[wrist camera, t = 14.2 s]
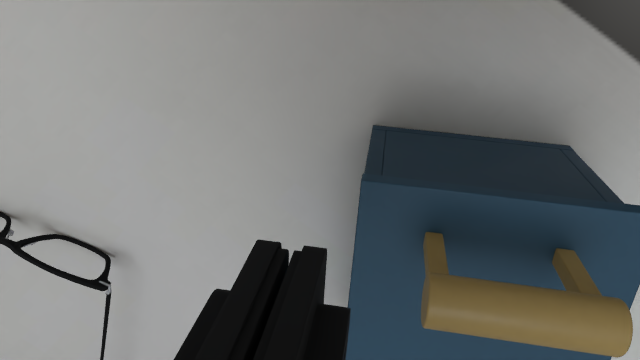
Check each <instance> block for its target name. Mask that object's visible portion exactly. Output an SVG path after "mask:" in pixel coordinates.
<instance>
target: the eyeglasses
mask: <svg viewBox="0 0 640 360" xmlns="http://www.w3.org/2000/svg"><path fill="white" fill-rule="evenodd" d="M0 217H2V218H4V219H5V220H6V222H7V224H6V226H5V228H4V229H3V230H2V231H1V232H0V244H3V245H5V246H7V247H8V248H10V249H11V250H12V251H13V252H14V253H15V254H17V255H18V256H20V257H22V258H23V259H25V260H27V261H28V262H30V263H32V264H34V265H36V266H38V267H40V268H42V269H44V270H46V271H48V272H50V273H52V274H55V275H57V276H59V277H62V278H65V279H67V280H70V281H72V282H75V283H78V284H81V285H84V286H87V287H90V288H93V289H97V290H100V291H105V290H108V291H106V293H105V294H107V296H106V306H105V317H104V327H103V338H102V348H101V358H100V360H103V358H104V350H105V341H106V333H107V324H108V316H109V308H110V299H111V282H109V281H108V274H109V270H110V263H111V259H110V257H109V256H108V255H107V254H105V253H103V252H102V251H100V250H98V249H96V248H94V247H92V246H90V245H88V244H86V243H84V242H81V241H79V240H76V239H73V238H70V237H67V236H63V235H58V234H49V235H42V236H37V237H32V238H28V239H24V240H20V241H17V242H15V241H12V240H9V239H8V238H9V236H12V235H13V233H14V231H13V230H10V226H11V218H10V217H9V216H7V215H5V214H3V213H1V212H0ZM7 234H8V237H7V238H6V236H7ZM50 239H62V240H66V241H69V242H72V243H75V244H77V245H80V246H82V247H84V248H87V249H89V250H91V251H93V252H95V253H97V254H98V255H100V256H101V257H103V258H104V259H105V260H106V266H105V270H104V271H103V273H102V274H101V276H100V277H98V278H97V279H95V280H88V279H84V278H81V277H78V276H75V275H72V274H69V273H67V272H64V271H61V270H59V269H56V268H54V267H52V266H49V265H47V264H45V263H43V262H41V261H39V260H38V259H36V258H34V257H32V256H31V255H29V254H27V253H26V252H24V251H23V250H21V248H22V247H26V246H28V245H30V244H31V245H33V244H35V243H36V242H38V241H42V240H50Z"/></svg>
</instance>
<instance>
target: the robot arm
mask: <svg viewBox="0 0 640 360" xmlns="http://www.w3.org/2000/svg"><path fill="white" fill-rule="evenodd" d="M326 260H327V249H326V248H318V247H311V246H304V247H303V249H302V251H294V253H293V255H292V258H291V260H290V263H289V251H288V250H287V249H281V243H280V242H273V241H265V240H257V241H256V243H255V245H254V247H253V249H252V251H251V253H250V254H249V256H248V258H247V260H246V262H245V264H244V266H243V268H242V270H241V272H240V274H239V275H238V277H237V279H236V281H235V283H234V285H233V287H232V289H231V291H229V290H222V289H216V290H214V292H213V293H212V294H211V296H210V298H209V299H208V301H207V303H206V305H205V306H204V308H203V310H202V312H201V313H200V315H199V317H198V318H197V320H196V322H195V324H194V325H193V327H192V329H191V331H190V332H189V334H188V336H187V338H186V339H185V341H184V343H183V345H182V346H181V348H180V350H179V351H178V353H177V355H176V357H175V358H174V360H346V352H347V343H348V334H349V324H350V314H351V308H346V307H339V306H333V305H326V304H324V289H325V275H326ZM288 265H289V266H288Z"/></svg>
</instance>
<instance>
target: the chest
mask: <svg viewBox="0 0 640 360" xmlns="http://www.w3.org/2000/svg"><path fill="white" fill-rule="evenodd" d="M364 173H365V174H373V175H382V176H390V177H399V178H407V179H416V180H425V181H433V182H442V183H450V184H459V185H467V186H476V187H485V188H493V189H502V190H510V191H519V192H527V193H536V194H545V195H553V196H562V197H570V198H579V199H587V200H596V201H605V202H613V203H622V204H624V203H623V202H622V201H621V200H620V199H619V198H618V196H617V195H616V194H615V193H614V192H613V191H612V190H611V189H610V188H609V187H608V186H607V185H606V184H605V183H604V182H603V181H602V180H601V179H600V178H599V177H598V176H597V174H596V173H595V172H594V171H593V170H592V169H591V168H590V167H589V166H588V165H587V164H586V163H585V162H584V161H583V160H582V159H581V158H580V157H579V156H578V155H577V154H576V152H575V151H574V150H573V149H572V148H571V147H570V146H566V145H557V144H547V143H538V142H528V141H519V140H509V139H500V138H490V137H481V136H471V135H462V134H452V133H443V132H433V131H424V130H414V129H405V128H395V127H386V126H376V125H373V128H372V134H371V139H370V145H369V150H368V156H367V161H366V166H365V172H364Z"/></svg>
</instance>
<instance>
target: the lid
mask: <svg viewBox="0 0 640 360" xmlns="http://www.w3.org/2000/svg"><path fill="white" fill-rule="evenodd" d="M639 285H640V206H639V205H630V204H622V203H613V202H605V201H596V200H587V199H579V198H570V197H562V196H553V195H545V194H536V193H527V192H519V191H510V190H502V189H493V188H485V187H476V186H467V185H459V184H450V183H442V182H433V181H425V180H416V179H407V178H399V177H390V176H382V175H373V174H365V173H364V174H363V175H362V180H361V188H360V197H359V207H358V216H357V225H356V235H355V244H354V254H353V263H352V273H351V282H350V292H349V301H348V308H351V314H350V324H349V334H348V343H347V352H346V360H611V357H621V356H623V355H624V354H626V352H627V351H628V349H629V347H630V344H631V340H632V333H633V325H632V318H631V313H630V308H631V305H632V303H633V300H634V298H635V295H636V292H637V290H638V287H639Z"/></svg>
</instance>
